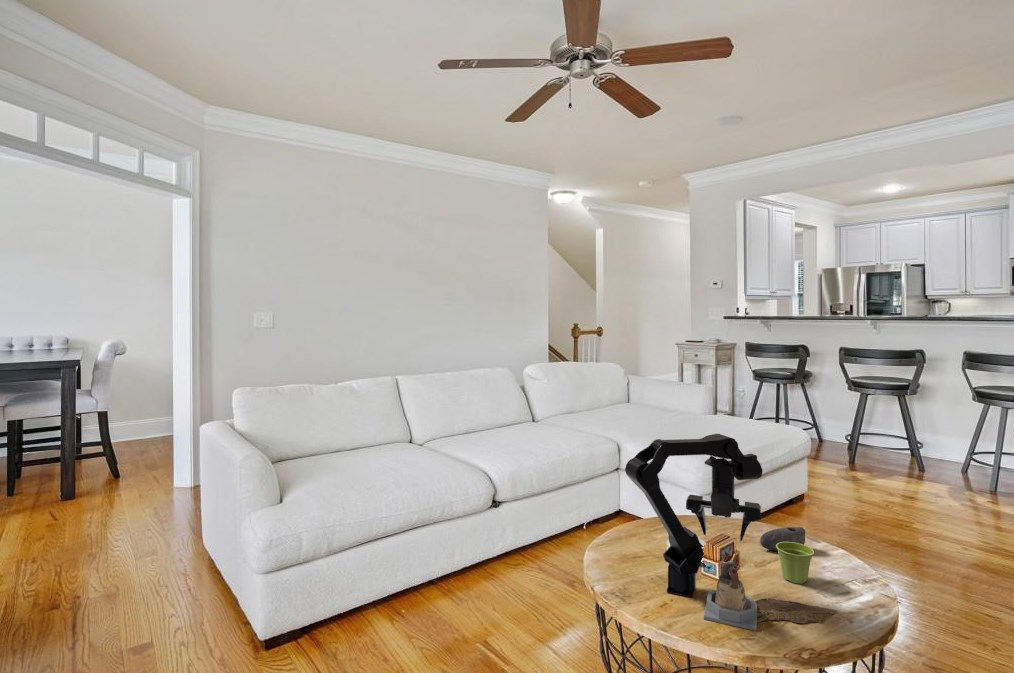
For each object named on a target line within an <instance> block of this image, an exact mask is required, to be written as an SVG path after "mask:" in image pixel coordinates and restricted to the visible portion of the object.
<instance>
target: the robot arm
mask: <svg viewBox="0 0 1014 673" xmlns="http://www.w3.org/2000/svg"><path fill="white" fill-rule="evenodd" d="M705 455H706V456H709V458H708V459H706V460H705V461H704V464H705V465H707V466H709V467H711V495H710V500H705V499H704V497H703V495H697V494H696V495H695V494H689V495H688V496H687V498H686V503H685V510H688V511H690V513H691V514H694V515H695V516H696V517H697V519H698V521H699V524H700V527H701V531H702V532H703V535H704V536H706V535H707V526H706V525H707V524H706V522H707V521H706V513H705V512H706V511H705V508H706V509H711V511H710V512H711V515H712V516H714V517H724V518H731V517H732V514H735V513H741V514H743V515H742V520H741V528H740V535H739V539H740V540H739V541H740V542H743V539H744V536H745V534H746V531H747V529H748V527H749V525H750V524H751V523H755V522H756V521H757V520H758V521H759V520H761V514H762V511H761V510H762V509H761V508H762V506H761V504H760V503H758V502H752V501H744V504H743V505H742V504H740V499H739V498H735V480H738V481H750V480H758V479H760V478H762V476H763V468H762V464H761V462H760V461H759V460H758V456H757V455H756V454H754V453H747V454H743V452H742V451H741V449H740V447H739V444H738V442H737V440H736V439H735V438H733V437H730V436H727V435H724V434H720V433H713V434H708V435H705V436H704V437H701V438H686V439H685V438H684V439H683V438H682V439H661V438H658V439H654V440H652V442H651V443H650V444H649V445H648V446H647V447H645V448H644V449H642V450H640V451H639V452H638V453H636V455H634V457H632V458H631V459H629V460H628V461H627V463H626V464H625V468H624V472H625V475H626V476H627V477H628V479H630V480H631V481H632V483H633V484H634V485H635V486H636V487H638V489H640V491H641V492H642V493H643V494H644V496H645V497H646V498H647V501H648V502H649V504H650V506H651V507H652V509H653V511H654V512H655V514H656V515H657V517H658V519H659V521H660V523H661V524H662V526H663V528H664V529H665V531H666V533H667V535H668V539H669V543H670V547H669V548H668V549H667V548H666V549H667V550H665V552H664V553H663V554H662V556H663V559H664V561H665V563H668V566H667V587H666V592H667V593H669V594H673V595H678V596H684V597H688V598H693V595H694V593H695V592H696V589H697V585H696V584H697V579H696V578H697V574H698V572H699V568H700V565H701V563H702V562H701V560H702V558H703V555H704V552H703V549H702V548H701V547H704V546H703V545H701V543H700V542H699V539H700V538H699V537H698V535H697V533H694V532H693V531H692V530H690V529H689V528H688V527H686V526H683V525H682V523H681V521H680V519H679V518H678V516H677V514H676V512H675V511H674V509H673V508H672V506H671V504H670V503H669V501H668V500H667V497H666V496H665V494H664V493H663V491H662V489H661V486H660V478H659V473H660V472H662V470H663V468H664V466H665V463H666V461H667V459H669V457H675V456H676V457H678V456H679V457H681V456H705ZM649 461H650V462H649ZM698 538H699V539H698Z"/></svg>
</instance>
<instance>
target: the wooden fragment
mask: <svg viewBox="0 0 1014 673" xmlns="http://www.w3.org/2000/svg"><path fill="white" fill-rule="evenodd" d="M754 601H755V602H756V604H757V623H762V622H764V621H765V622H769V621H773V622H776V621H777V622H780V621H784V622H785V621H788V622H791V623H796V624H803V625H805V624H808V623H818V624H820V623H821V624H822V623H824V621H826V620H827V619H828V618H830V617H831V616H833V615H837V613H838V610H837V609H834V608H833V609H832V608H827V607H823V606H816V605H812V604H806V603H802V602H797V601H791V600H782V599H776V598H770V597H769V598H761V599H757V600H754Z"/></svg>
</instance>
